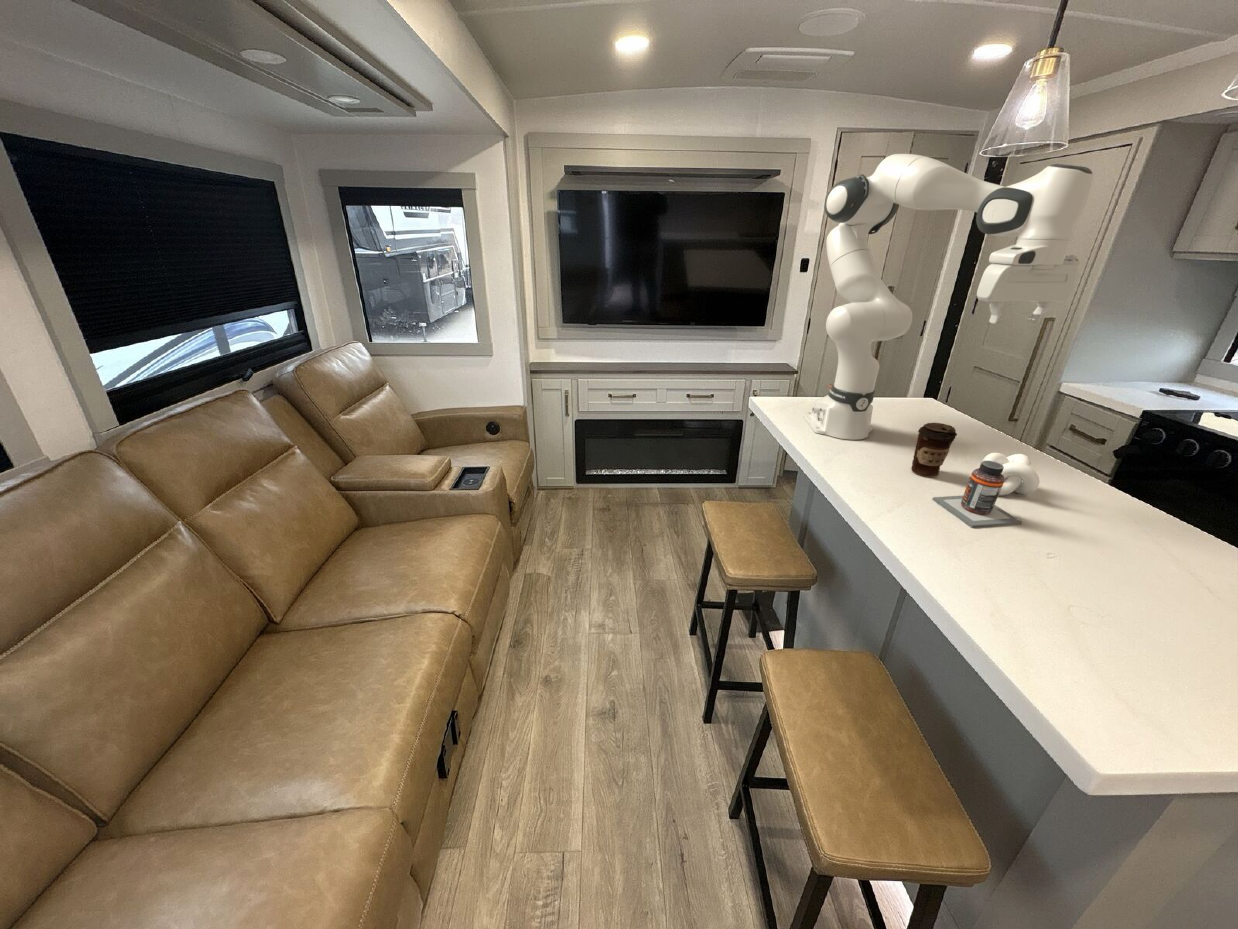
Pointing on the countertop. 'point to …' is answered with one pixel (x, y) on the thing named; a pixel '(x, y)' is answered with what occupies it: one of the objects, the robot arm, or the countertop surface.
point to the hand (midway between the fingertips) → (1013, 322)
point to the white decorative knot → (1016, 473)
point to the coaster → (973, 519)
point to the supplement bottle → (983, 488)
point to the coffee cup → (932, 448)
